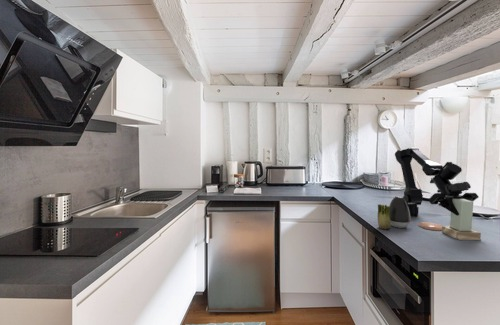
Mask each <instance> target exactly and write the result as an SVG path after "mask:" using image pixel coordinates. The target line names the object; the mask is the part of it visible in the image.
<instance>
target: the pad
mask: <svg viewBox="0 0 500 325" xmlns="http://www.w3.org/2000/svg"><path fill="white" fill-rule="evenodd" d="M418 226H419V228H421V229H425V230H429V231H436V232H437V231H441V232H442V226H443V225H442V224H439V223H434V222H429V221H427V222H426V221H422V222H419V223H418Z"/></svg>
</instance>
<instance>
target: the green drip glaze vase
mask: <svg viewBox="0 0 500 325" xmlns="http://www.w3.org/2000/svg"><path fill="white" fill-rule="evenodd" d="M389 209H390V207H389V205H387V204H381V203H377V224H378V225H377V226H378V228H379V229H381V230H384V229H387V230H389V229H390V228H391V225H390V218H389Z"/></svg>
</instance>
